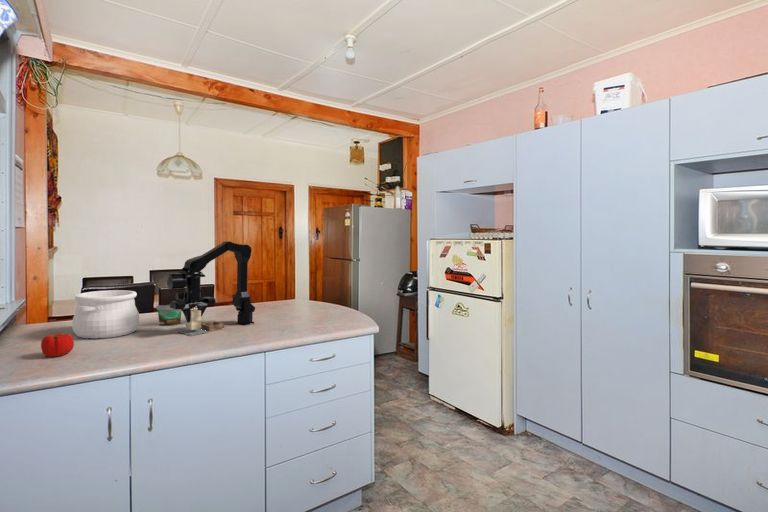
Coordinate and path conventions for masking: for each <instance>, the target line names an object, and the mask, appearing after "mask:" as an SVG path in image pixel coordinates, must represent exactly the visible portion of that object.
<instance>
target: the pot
mask: <svg viewBox="0 0 768 512" xmlns="http://www.w3.org/2000/svg"><path fill="white" fill-rule="evenodd" d="M137 295H138V294H137V292H136V291H134V290H123V289H121V290H119V289H114V290H110V289H109V290H96V291H87V292H82V293H78V294H75V296H74V300H75V301H76V302H77V304H76V307H75V313H74V315H73V317H72V321H71V325H72V328H71V329H72V331H73V332H74V334H75V335H76V336H77V337H78V338H83V339H88V338H91V340H92V339H95V340H97V339H98V338H100V339H109V338H118V337H122V336H126V335H129V334H133V332H135V331H136V330H137V328H138V327H139V324H140V321H141V320H140V319H141V318H140V313H139V310H138V309H137V307H136V306H137V305H136V301H135V298H137Z"/></svg>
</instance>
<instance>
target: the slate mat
mask: <svg viewBox="0 0 768 512" xmlns="http://www.w3.org/2000/svg"><path fill="white" fill-rule="evenodd" d="M179 332H180V333H179ZM206 332H208V331H205V330H201V329H194V330H190V329H183V330H182V329H181V330H179V331H178V333H179V334H182V333H184V334H183V335H185V334H187V335H186V336H189V335H191V336H190V337H193V336H192V335H194V336H198V335H197V334H199V335H203V334H202V333H204V334H207V333H206ZM208 333H209V332H208Z"/></svg>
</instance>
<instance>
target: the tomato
mask: <svg viewBox="0 0 768 512" xmlns="http://www.w3.org/2000/svg"><path fill="white" fill-rule="evenodd" d="M74 341H75V340H74V338H73V336H72V335H71V334H69V333H62V332H60V333H56V334H53V335H52V334H48V335H45V336H44V337H43V339H42V341H41V344H40V347H41V348H40V349H41V351H42V354H43V355H44V356H45V357H49V358H53V357H61V356H64V355H67V354H68V353H70V352H71V351H73V349H74V346H75V342H74Z"/></svg>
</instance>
